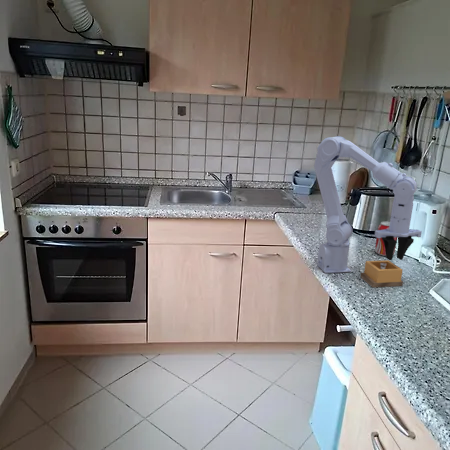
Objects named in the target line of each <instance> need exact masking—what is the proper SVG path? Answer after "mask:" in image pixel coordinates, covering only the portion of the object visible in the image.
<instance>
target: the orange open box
mask: <svg viewBox="0 0 450 450" xmlns="http://www.w3.org/2000/svg"><path fill="white" fill-rule="evenodd" d="M380 263H386V264H387V265H386V267H385V269H380V268H381V265H380ZM403 271H404V270H403V269H402V268H401V267H400V266H397V265H396V264H395V263H393V262H392V261H391V260H389V259H387V260H367V261H366V260H365V264H364V271H363V273H365V274H366V275H368V276H369V277H370V278H371V279H373V280H374V281H375V282H376V283H385V282H401V280H402V275H403Z"/></svg>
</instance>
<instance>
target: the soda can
mask: <svg viewBox="0 0 450 450" xmlns="http://www.w3.org/2000/svg"><path fill="white" fill-rule="evenodd" d="M389 225H390V221H387V220H386V221H381V222H380V224H379V225H378V227H377V230H384V229H389ZM375 238H376V239H375V247H374V248H375V249H374V250H375V253H376V254H378V255H379V256H381V257H386V250H385V246H384V243H383V240H382V237H381V238H377V237H375ZM394 240H396V241H397V242H398V237H394ZM396 247H397V245H396V246H395V248H394V252H393V255H395V251H396Z"/></svg>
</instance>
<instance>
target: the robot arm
mask: <svg viewBox="0 0 450 450" xmlns="http://www.w3.org/2000/svg"><path fill="white" fill-rule="evenodd" d="M316 150H317V153H316V157H315V159H314V165H313V168H314V172H315V175H316V178H317V183H318V187H319V190H320V191H319V192H320V194H321V198H322V203H323V206H324V210H325V214H326V223H325V224H326V225H325V227H326V233H325V239H326V242H324V243H320V244H319V246H318V253H317V262H316V266H317V267H318V268H319V269H320V270H321V271H322V272H324V273H325V274H329V273H331V274H333V273H351V272H352V269H350V268H349V267H348V262H349V261H348V260H349V251H350V241H349V239H350V237H351V236H352V235H353V227H352V226H351V224H350V223H349V222H348V218H347V216H346V215H345V214H344V212H343V209H342V204H341V199H340V197H339V193H338V189H337V185H336V181H335V178H334V173H333V169H332V167H333V166H334V164H335V163H336V162H337V160H338V159H339V158H349V159H350V158H351V159H352V160H354V161H355V162H357V163H358V164H360V165H362V167H365V168H366V169H368V170H369V171H371V173H372V176H373V178H374V179H375V180H377V181H378V182H379V183H381V184H382V185H384V186H385V187H386V188H388V189H389V190H392V192H393V194H394V197H393V201H392V205H391V206H392V208H391V213H390V220H389V222H390V225H389V229H384V230H378V229H377V230H374V237H375V238H381V237H382V240H383V243H384V246H385V250H386V256H385V257H386V259H387V260H389V261H393V256H394V254H393V252H394V248H395V249H396V247H397V251H396V258H397V259H399V260H402V261H403V259H404V257H405V255H406V253H407V251H408V249H409V248H410V247H411V246H412V244H413V243H414V242H415V239H414V238H422V234H423V233H422V230H420V229H414V228H413V229H412V228H411V229H410V226H411V219H412V214H413V208H414V201H415V200H414V199H415V198H414V197H415V195H414V194H415V193H416V191H417V189H418V185H417V184H418V183H417V182H416V180H415V179H414V178H413V177H412V176H408V175H407V173H405V172H403V173H402V171H399V170H398V169H396V168H395V167H394V164H393V163H392V162H389V163H388V162H387V161H382V162H379V161H377V160H376V159H375V158H373V157H372V156H371V155H370V154H368V153H367V152H365V151H364V150H363V149H362V148H360V147H359V146H357V145H356V144H355V143H353V142H352V141H350V140H348V139H346V138H345V137H343V136H340V135H335V136H332V137H331V136H330V137H326V138H324V139H323V140H321V142H320V143H319V145H317V148H316ZM394 237H397V241H396V240H394ZM412 237H413V238H412ZM395 246H396V247H395ZM394 253H395V252H394Z"/></svg>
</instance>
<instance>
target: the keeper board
mask: <svg viewBox="0 0 450 450" xmlns="http://www.w3.org/2000/svg"><path fill="white" fill-rule="evenodd" d="M380 265H381V268H380V269H385V267H386V265H387V264H386V263H380ZM360 279H362V280H363V281H364V282H366V283H367V284H368V285H369V286H370V287H372V288H392V287H394V288H395V287H403V285H404V281H403V280H402V279H401V282H385V283H376V282H375V281H374V280H373V279H371V278H370V277H369V276H368V275H366V274H365V273H364V272H360Z"/></svg>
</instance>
